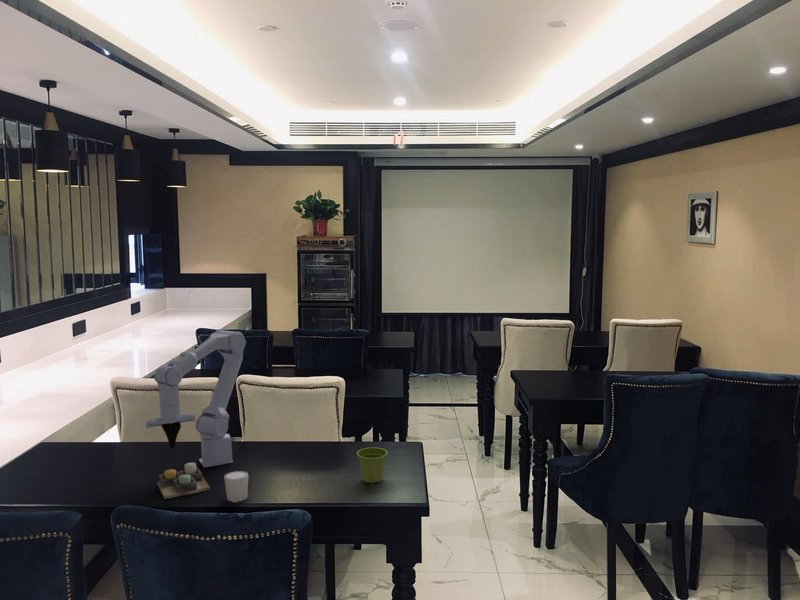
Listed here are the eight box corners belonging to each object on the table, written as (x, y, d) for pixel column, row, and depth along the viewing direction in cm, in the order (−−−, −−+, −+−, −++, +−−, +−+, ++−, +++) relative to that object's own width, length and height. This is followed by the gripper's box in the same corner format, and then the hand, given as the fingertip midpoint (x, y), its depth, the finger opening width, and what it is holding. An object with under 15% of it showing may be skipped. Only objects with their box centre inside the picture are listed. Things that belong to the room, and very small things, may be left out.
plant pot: (392, 476, 215) (391, 449, 214) (381, 487, 206) (381, 459, 205) (364, 472, 218) (363, 446, 217) (352, 483, 209) (351, 456, 208)
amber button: (175, 478, 211) (174, 468, 211) (177, 481, 208) (177, 472, 208) (163, 480, 210) (163, 470, 209) (165, 483, 207) (165, 474, 206)
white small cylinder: (195, 471, 214) (194, 461, 214) (197, 474, 211) (197, 465, 211) (184, 473, 212) (183, 463, 212) (186, 476, 210) (185, 467, 209)
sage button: (189, 483, 207) (189, 473, 207) (192, 487, 204) (191, 477, 204) (178, 485, 206) (177, 475, 205) (180, 489, 203) (179, 479, 202)
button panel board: (200, 476, 216) (200, 467, 216) (209, 490, 205) (209, 480, 205) (157, 484, 210) (156, 475, 210) (164, 499, 199) (163, 489, 199)
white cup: (227, 494, 202) (226, 471, 202) (250, 493, 203) (249, 470, 202) (223, 503, 196) (222, 480, 195) (247, 502, 196) (246, 479, 195)
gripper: (191, 397, 220) (193, 439, 222) (142, 404, 213) (145, 446, 215) (195, 403, 214) (198, 445, 215) (146, 409, 207) (149, 453, 209)
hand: (172, 446), depth 215 cm, fingers closed
